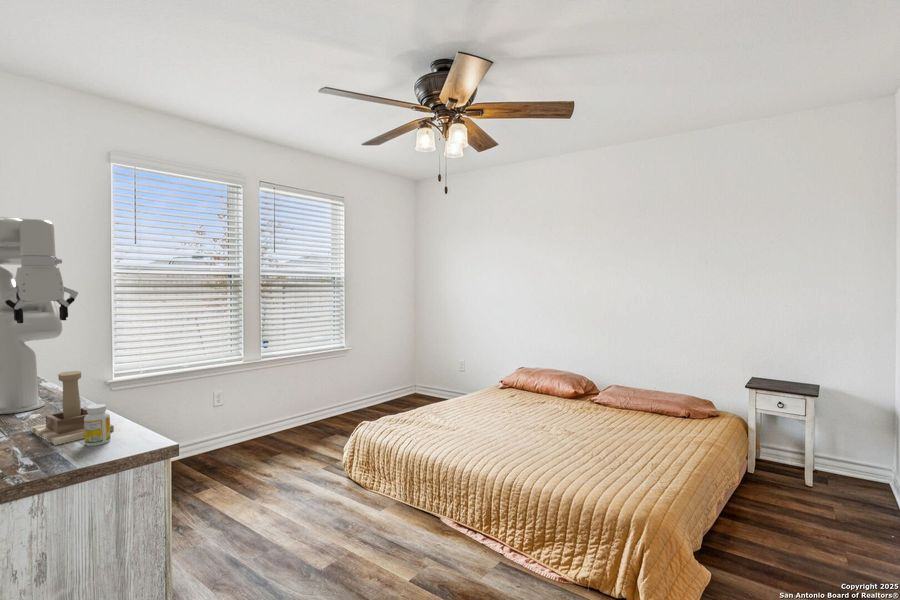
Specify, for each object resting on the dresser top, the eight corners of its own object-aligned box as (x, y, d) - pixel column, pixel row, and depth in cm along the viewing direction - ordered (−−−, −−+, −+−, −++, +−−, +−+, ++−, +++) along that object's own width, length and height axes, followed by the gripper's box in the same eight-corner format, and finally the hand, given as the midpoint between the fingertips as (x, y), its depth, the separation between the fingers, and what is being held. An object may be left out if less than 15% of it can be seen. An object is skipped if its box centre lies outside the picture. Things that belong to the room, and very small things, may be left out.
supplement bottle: (93, 447, 116) (91, 410, 115) (80, 444, 118) (78, 408, 117) (115, 440, 121) (113, 404, 120) (102, 437, 123) (100, 402, 122)
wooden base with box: (32, 432, 127) (31, 414, 127) (88, 419, 138) (88, 403, 138) (54, 445, 117) (53, 426, 117) (113, 430, 128) (113, 413, 128)
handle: (61, 431, 124) (58, 376, 123) (61, 425, 128) (58, 372, 128) (84, 427, 127) (81, 373, 126) (83, 421, 132) (80, 370, 131)
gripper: (71, 263, 141) (74, 318, 142) (-7, 262, 127) (-3, 323, 128) (80, 263, 137) (83, 319, 138) (1, 261, 123) (5, 325, 124)
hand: (42, 321), depth 133 cm, fingers open, 9 cm apart
